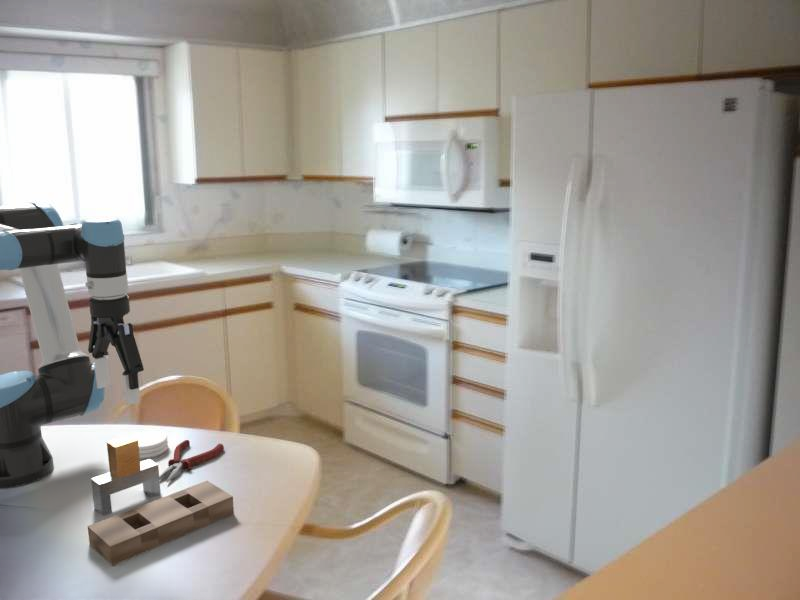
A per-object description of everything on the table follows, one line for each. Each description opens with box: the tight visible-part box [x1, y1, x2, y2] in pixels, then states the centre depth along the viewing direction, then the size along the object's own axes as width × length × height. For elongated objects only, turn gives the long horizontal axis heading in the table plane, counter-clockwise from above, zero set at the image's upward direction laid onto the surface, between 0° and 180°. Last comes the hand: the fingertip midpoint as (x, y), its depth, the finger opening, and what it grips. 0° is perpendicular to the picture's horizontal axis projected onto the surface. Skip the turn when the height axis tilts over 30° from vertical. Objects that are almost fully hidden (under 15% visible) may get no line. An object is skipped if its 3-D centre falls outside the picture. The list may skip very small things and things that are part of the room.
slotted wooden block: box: [87, 480, 235, 567], centre depth 146 cm, size 10×26×4 cm, turn 135°
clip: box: [90, 434, 162, 516], centre depth 156 cm, size 4×13×14 cm, turn 135°
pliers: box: [159, 439, 225, 483], centre depth 174 cm, size 12×20×3 cm, turn 166°
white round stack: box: [131, 430, 169, 460], centre depth 182 cm, size 10×10×4 cm
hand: (118, 394), depth 152 cm, fingers open, 13 cm apart
